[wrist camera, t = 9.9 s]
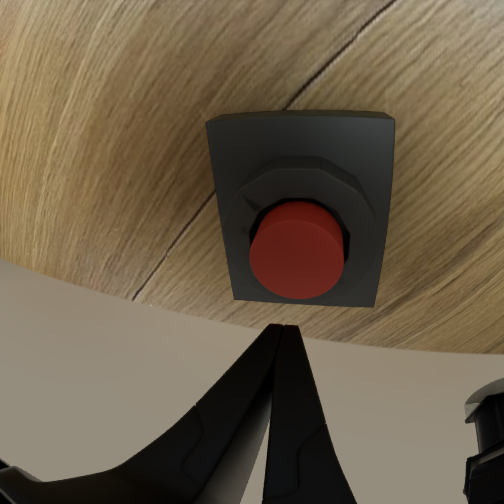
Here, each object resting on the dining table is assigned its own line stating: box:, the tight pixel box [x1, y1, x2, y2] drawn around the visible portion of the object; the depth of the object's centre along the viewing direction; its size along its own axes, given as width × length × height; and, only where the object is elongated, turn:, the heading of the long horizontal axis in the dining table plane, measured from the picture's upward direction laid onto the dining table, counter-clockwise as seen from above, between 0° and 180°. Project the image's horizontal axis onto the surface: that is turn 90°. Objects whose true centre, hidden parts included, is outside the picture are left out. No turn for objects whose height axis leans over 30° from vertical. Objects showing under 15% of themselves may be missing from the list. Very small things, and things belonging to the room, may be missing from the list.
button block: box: [206, 110, 395, 307], centre depth 14 cm, size 10×8×4 cm
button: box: [249, 201, 344, 299], centre depth 12 cm, size 4×4×2 cm
